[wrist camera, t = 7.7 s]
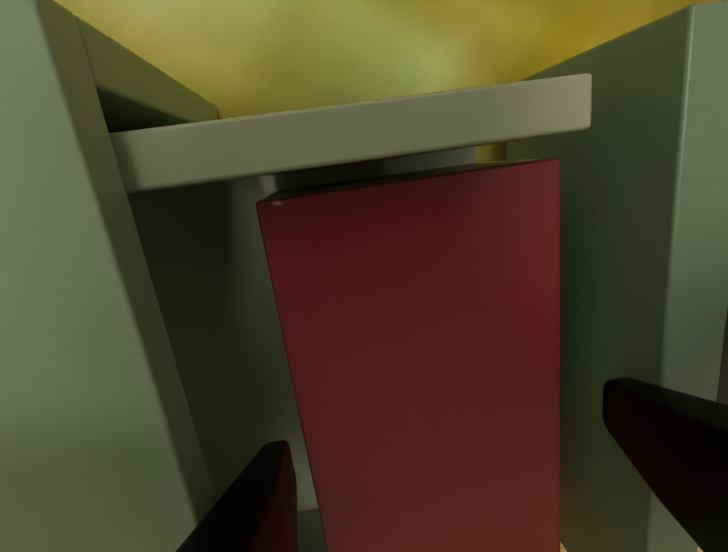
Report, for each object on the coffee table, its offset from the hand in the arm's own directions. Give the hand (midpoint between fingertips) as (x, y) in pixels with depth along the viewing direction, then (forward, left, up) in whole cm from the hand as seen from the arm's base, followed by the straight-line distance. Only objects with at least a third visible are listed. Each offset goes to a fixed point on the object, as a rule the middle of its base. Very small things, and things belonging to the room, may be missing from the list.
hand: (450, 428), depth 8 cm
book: (0, 0, -4) cm, 4 cm away
